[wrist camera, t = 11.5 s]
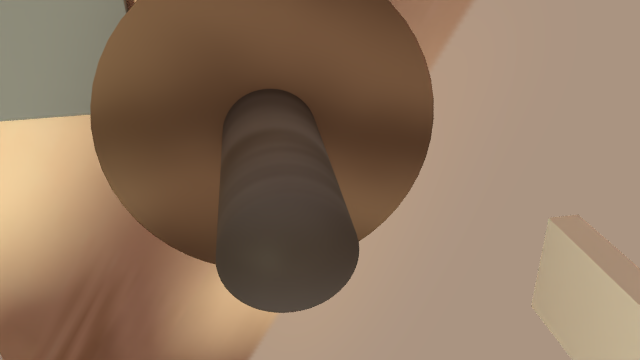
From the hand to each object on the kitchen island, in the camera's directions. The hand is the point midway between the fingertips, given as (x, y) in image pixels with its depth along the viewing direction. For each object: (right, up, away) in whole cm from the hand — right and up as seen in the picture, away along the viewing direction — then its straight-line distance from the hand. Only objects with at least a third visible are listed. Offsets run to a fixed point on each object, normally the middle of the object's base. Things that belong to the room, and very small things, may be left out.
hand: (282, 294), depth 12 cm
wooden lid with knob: (-1, +5, +9) cm, 10 cm away
